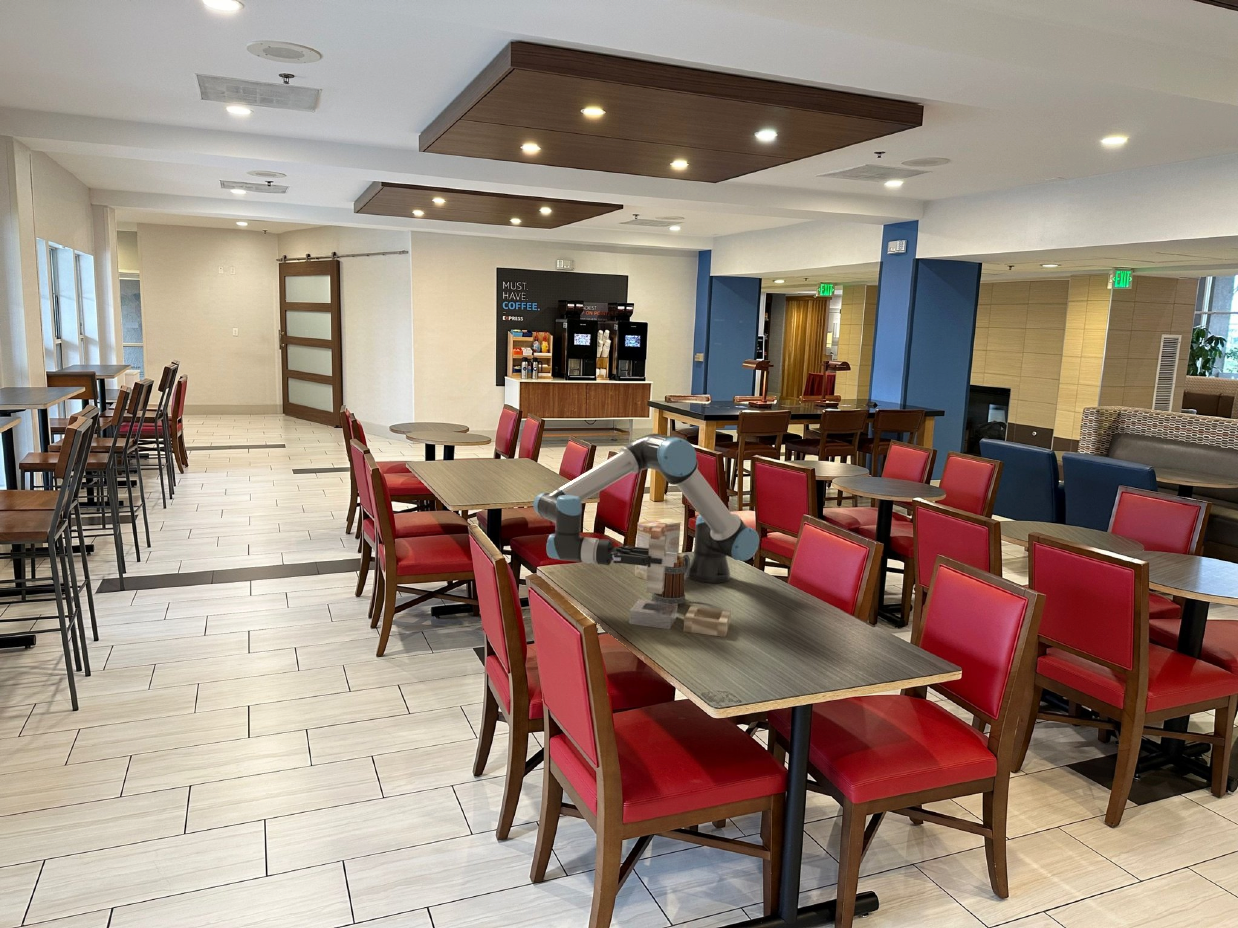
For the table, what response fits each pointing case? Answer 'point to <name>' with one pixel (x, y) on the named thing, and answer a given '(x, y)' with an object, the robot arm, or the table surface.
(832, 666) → the table surface
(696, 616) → the block
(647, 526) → the coffeecake box
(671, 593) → the mug
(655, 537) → the t-key
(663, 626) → the plate
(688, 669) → the table surface
